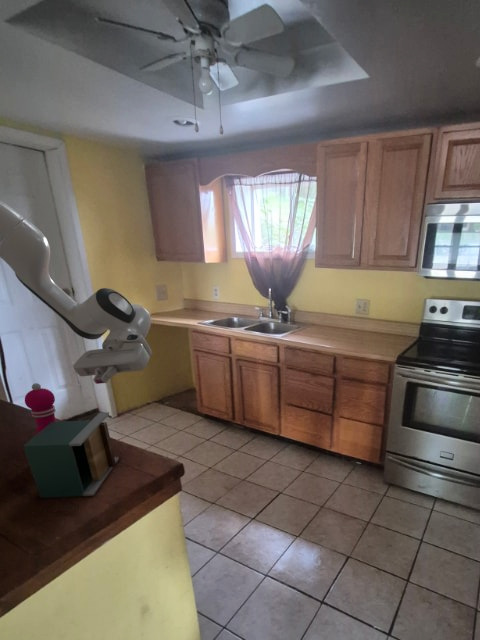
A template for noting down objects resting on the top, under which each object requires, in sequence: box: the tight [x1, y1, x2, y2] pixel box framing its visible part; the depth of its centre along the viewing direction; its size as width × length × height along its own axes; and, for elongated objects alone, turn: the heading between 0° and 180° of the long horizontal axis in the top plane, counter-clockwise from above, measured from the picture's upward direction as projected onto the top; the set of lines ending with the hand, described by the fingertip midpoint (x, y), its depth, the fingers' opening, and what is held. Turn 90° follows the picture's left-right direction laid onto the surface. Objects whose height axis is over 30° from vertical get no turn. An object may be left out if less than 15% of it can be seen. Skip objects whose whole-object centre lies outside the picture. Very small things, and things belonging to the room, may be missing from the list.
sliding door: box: [83, 421, 117, 481], centre depth 85 cm, size 2×7×11 cm, turn 4°
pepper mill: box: [24, 382, 58, 437], centre depth 92 cm, size 7×7×20 cm
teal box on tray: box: [22, 411, 120, 499], centre depth 85 cm, size 11×15×13 cm
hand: (99, 381), depth 96 cm, fingers closed
